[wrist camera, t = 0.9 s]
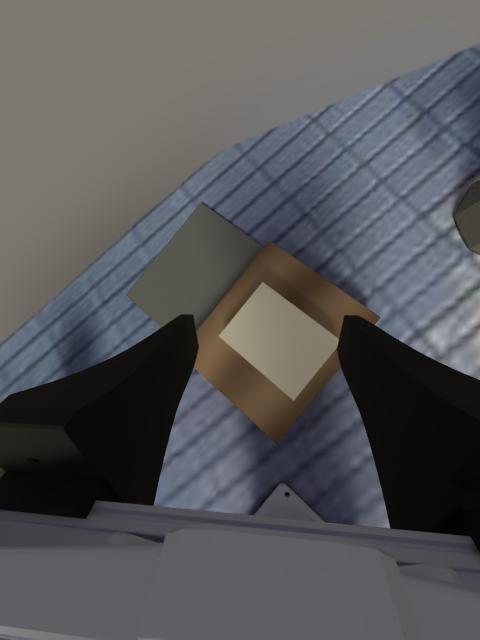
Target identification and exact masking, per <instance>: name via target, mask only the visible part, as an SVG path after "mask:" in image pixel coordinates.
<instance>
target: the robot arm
mask: <svg viewBox="0 0 480 640" xmlns="http://www.w3.org/2000/svg"><path fill="white" fill-rule="evenodd" d="M198 349H199V344H198V338H197V333H196V327H195V322H194V316H193V314H181V315H179V316H178V317H176V318H174V319H173V320H172V321H170V322H169V323H167V324H166V325H164V326H163V327H162V328H160V329H159V330H157V331H156V332H154V333H153V334H152V335H150V336H148V337H147V338H145V339H144V340H142V341H141V342H139V343H137V344H136V345H134V346H132V347H131V348H129V349H127V350H125V351H124V352H122V353H120V354H118V355H116V356H114V357H112V358H110V359H108V360H106V361H103V362H101V363H99V364H97V365H95V366H92V367H90V368H88V369H85V370H83V371H80V372H78V373H75V374H73V375H70V376H67V377H64V378H62V379H59V380H56V381H53V382H50V383H47V384H44V385H40V386H37V387H34V388H31V389H27V390H24V391H21V392H17V393H14V394H11V395H9V396H8V397H7V398H6V399H5V400H3V401H2V402H1V403H0V467H1V468H2V469H3V470H5V471H6V472H5V473H4V474H3V475H2V476H1V477H0V637H1V638H6V639H12V640H480V380H478V379H476V378H473V377H471V376H468V375H466V374H463V373H461V372H459V371H457V370H454V369H452V368H450V367H448V366H446V365H444V364H442V363H440V362H438V361H435V360H433V359H431V358H429V357H427V356H426V355H424V354H422V353H420V352H418V351H416V350H415V349H413V348H411V347H409V346H408V345H406V344H404V343H402V342H401V341H399V340H397V339H396V338H394V337H393V336H391V335H389V334H388V333H386V332H385V331H383V330H382V329H380V328H378V327H377V326H375V325H374V324H372V323H371V322H369V321H368V320H366V319H364V318H363V317H361V316H359V315H344V319H343V324H342V328H341V332H340V337H339V341H338V346H337V353H338V358H339V362H340V365H341V369H342V371H343V374H344V376H345V378H346V381H347V383H348V386H349V388H350V390H351V393H352V395H353V397H354V400H355V402H356V404H357V407H358V409H359V411H360V414H361V417H362V420H363V423H364V426H365V429H366V433H367V436H368V439H369V443H370V446H371V450H372V453H373V457H374V461H375V464H376V468H377V472H378V476H379V480H380V484H381V488H382V492H383V496H384V501H385V505H386V510H387V514H388V519H389V524H390V528H391V529H388V528H378V527H367V526H357V525H346V524H336V523H326V522H325V521H324V520H323V519H322V518H321V517H319V516H318V515H317V514H316V513H315V512H314V511H313V510H312V509H311V508H310V507H309V506H308V505H307V504H306V503H305V502H304V501H303V500H302V499H301V498H300V497H299V496H298V495H297V494H296V493H295V492H294V491H293V490H292V489H290V488H289V487H288V486H287V485H286V484H285V483H280V484H279V485H278V486H277V487H276V488H275V490H274V491H273V492H272V493H271V495H270V496H269V497H268V498H267V499H266V501H265V502H264V503H263V504H262V506H261V507H260V508H259V509H258V510H257V512H256V513H255V514H254V515H242V514H232V513H222V512H211V511H201V510H191V509H180V508H170V507H159V506H154V501H155V496H156V491H157V487H158V482H159V477H160V473H161V469H162V464H163V460H164V456H165V452H166V448H167V444H168V440H169V436H170V432H171V429H172V425H173V422H174V418H175V415H176V411H177V408H178V405H179V403H180V400H181V398H182V395H183V393H184V390H185V388H186V385H187V383H188V380H189V378H190V375H191V373H192V370H193V368H194V365H195V362H196V358H197V354H198ZM285 492H289V493H290V495H285Z"/></svg>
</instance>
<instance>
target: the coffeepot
mask: <svg viewBox="0 0 480 640" xmlns="http://www.w3.org/2000/svg"><path fill="white" fill-rule="evenodd" d="M454 218H455V222H456V226H457V229H458V232H459V235H460V236H461V238H462V240H463V241H464V242H465V244H466V245H467V246H468V247H469V249H470V250H472V251H473V252H475V253H477V254H479V255H480V180H479V181H477V182H475V183H474V184H472V185H471V187H470V188H469V190H468V192H467V194H466V195H465V197H464V198H463V199H462V201H461V202H460V205H459V207H458V209H457V212H456V214H455V215H454Z"/></svg>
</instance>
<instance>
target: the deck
mask: <svg viewBox="0 0 480 640" xmlns="http://www.w3.org/2000/svg"><path fill="white" fill-rule="evenodd" d="M262 282H264V283H265V284H266V285H268V286H269V287H270V288H272V289H273V290H274V291H276V292H277V293H278V294H280V295H281V296H282V297H284V298H285V299H286V300H288V301H289V302H290V303H292V304H293V305H294V306H296V307H297V308H298V309H300V310H301V311H302V312H304V313H305V314H306V315H308V316H309V317H310V318H312V319H313V320H314V321H316V322H317V323H318V324H320V325H321V326H322V327H324V328H325V329H326V330H328V331H329V332H330V333H332V334H333V335H334V336H336V337H337V338H338V339H339V337H340V332H341V328H342V324H343V319H344V315H359V316H361V317H363V318H364V319H366V320H368V321H369V322H371V323H372V324H374V325H375V323H376V322H377V321H378V320H379V319H380V317H379V316H378V315H377V314H375V313H374V312H372V311H371V310H369V309H368V308H366V307H365V306H364V305H362V304H361V303H359V302H358V301H356V300H355V299H353V298H352V297H351V296H349V295H348V294H346V293H345V292H343V291H342V290H340V289H339V288H338V287H336V286H335V285H333V284H332V283H330V282H329V281H327V280H326V279H325V278H323V277H322V276H320V275H319V274H317V273H316V272H315V271H313V270H312V269H310V268H309V267H307V266H306V265H304V264H303V263H302V262H300V261H299V260H297V259H296V258H294V257H293V256H291V255H290V254H289V253H287V252H286V251H284V250H283V249H281V248H280V247H278V246H277V245H276V244H274V243H273V242H271V241H270V242H269V243H268V244H267V245H266V247H265V248H264V249H263V250H262V252H261V253H260V254H259V255H258V256H257V258H256V259H255V260H254V261H253V263H252V264H251V265H250V266H249V267H248V269H247V270H246V271H245V272H244V274H243V275H242V276H241V277H240V279H239V280H238V281H237V282H236V283H235V285H234V286H233V287H232V288H231V290H230V291H229V292H228V293H227V294H226V296H225V297H224V298H223V299H222V301H221V302H220V303H219V304H218V305H217V307H216V308H215V309H214V310H213V312H212V313H211V314H210V315H209V317H208V318H207V319H206V320H205V321H204V323H203V324H202V325H201V326H200V328H199V329H198V330H197V331H196V333H197V338H198V344H199V349H198V354H197V358H196V362H195V365H194V368H195V369H196V370H198V371H199V372H200V373H201V374H202V375H203V376H204V377H205V378H206V379H207V380H208V381H209V382H210V383H212V384H213V385H214V386H215V387H216V388H217V389H218V390H219V391H220V392H221V393H222V394H223V395H224V396H226V397H227V398H228V399H229V400H230V401H231V402H232V403H233V404H234V405H235V406H236V407H237V408H238V409H240V410H241V411H242V412H243V413H244V414H245V415H246V416H247V417H248V418H249V419H250V420H251V421H252V422H254V423H255V424H256V425H257V426H258V427H259V428H260V429H261V430H262V431H263V432H264V433H265V434H266V435H268V436H269V437H270V438H271V439H272V440H273V441H274V442H275V443H276V444H277V443H278V442H279V441H280V440H281V438H282V437H283V436H284V435H285V433H286V432H287V431H288V430H289V429H290V427H291V426H292V425H293V424H294V422H295V421H296V420H297V419H298V418H299V416H300V415H301V414H302V413H303V411H304V410H305V409H306V408H307V407H308V405H309V404H310V403H311V402H312V400H313V399H314V398H315V397H316V396H317V394H318V393H319V392H320V391H321V389H322V388H323V387H324V386H325V385H326V383H327V382H328V381H329V380H330V378H331V377H332V376H333V375H334V374H335V372H336V371H337V370H338V369H339V367H340V366H341V365H340V362H339V358H338V353H337V348H336V350H335V351H334V352H333V353H332V354H331V356H330V357H329V358H328V359H327V361H326V362H325V363H324V364H323V365H322V367H321V368H320V369H319V370H318V372H317V373H316V374H315V375H314V376H313V378H312V379H311V380H310V381H309V383H308V384H307V385H306V386H305V387H304V389H303V390H302V391H301V392H300V394H299V395H298V396H297V397H296V398H295V400H294V401H293V400H292V399H291V398H290V397H289V396H288V395H286V394H285V393H284V392H283V391H282V390H281V389H280V388H278V387H277V386H276V385H275V384H274V383H273V382H271V381H270V380H269V379H268V378H267V377H266V376H264V375H263V374H262V373H261V372H260V371H259V370H257V369H256V368H255V367H254V366H253V365H252V364H250V363H249V362H248V361H247V360H246V359H245V358H243V357H242V356H241V355H240V354H239V353H238V352H237V351H235V350H234V349H233V348H232V347H231V346H230V345H228V344H227V343H226V342H225V341H224V340H223V339H221V338H220V337H219V335H220V334H221V332H222V331H223V330H224V329H225V327H226V326H227V325H228V324H229V323H230V321H231V320H232V319H233V318H234V316H235V315H236V314H237V313H238V312H239V310H240V309H241V308H242V307H243V305H244V304H245V303H246V302H247V300H248V299H249V298H250V297H251V296H252V294H253V293H254V292H255V291H256V289H257V288H258V287H259V286H260V285H261V283H262Z"/></svg>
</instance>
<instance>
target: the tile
mask: <svg viewBox="0 0 480 640" xmlns="http://www.w3.org/2000/svg"><path fill="white" fill-rule="evenodd" d="M219 337H220V338H221V339H223V340H224V341H225V342H226V343H227V344H228V345H230V346H231V347H232V348H233V349H234V350H235V351H237V352H238V353H239V354H240V355H241V356H242V357H243V358H245V359H246V360H247V361H248V362H249V363H250V364H252V365H253V366H254V367H255V368H256V369H257V370H259V371H260V372H261V373H262V374H263V375H264V376H266V377H267V378H268V379H269V380H270V381H271V382H273V383H274V384H275V385H276V386H277V387H278V388H280V389H281V390H282V391H283V392H284V393H285V394H286V395H288V396H289V397H290V398H291V399H292V400H293V401H294V400H295V398H296V397H297V396H298V395H299V394H300V392H301V391H302V390H303V389H304V387H305V386H306V385H307V384H308V383H309V381H310V380H311V379H312V378H313V376H314V375H315V374H316V373H317V372H318V370H319V369H320V368H321V367H322V365H323V364H324V363H325V362H326V361H327V359H328V358H329V357H330V356H331V354H332V353H333V352H334V351H335V350H336V348H337V346H338V341H339V339H338V338H337V337H336V336H334V335H333V334H332V333H330V332H329V331H328V330H326V329H325V328H324V327H322V326H321V325H320V324H318V323H317V322H316V321H314V320H313V319H312V318H310V317H309V316H308V315H306V314H305V313H304V312H302V311H301V310H300V309H298V308H297V307H296V306H294V305H293V304H292V303H290V302H289V301H288V300H286V299H285V298H284V297H282V296H281V295H280V294H278V293H277V292H276V291H274V290H273V289H272V288H270V287H269V286H268V285H266V284H265V283H264V282H262V283H261V285H260V286H259V287H258V288H257V289H256V291H255V292H254V293H253V294H252V296H251V297H250V298H249V299H248V300H247V302H246V303H245V304H244V305H243V307H242V308H241V309H240V310H239V312H238V313H237V314H236V315H235V316H234V318H233V319H232V320H231V321H230V323H229V324H228V325H227V326H226V327H225V329H224V330H223V331H222V332H221V334H220V335H219Z"/></svg>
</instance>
